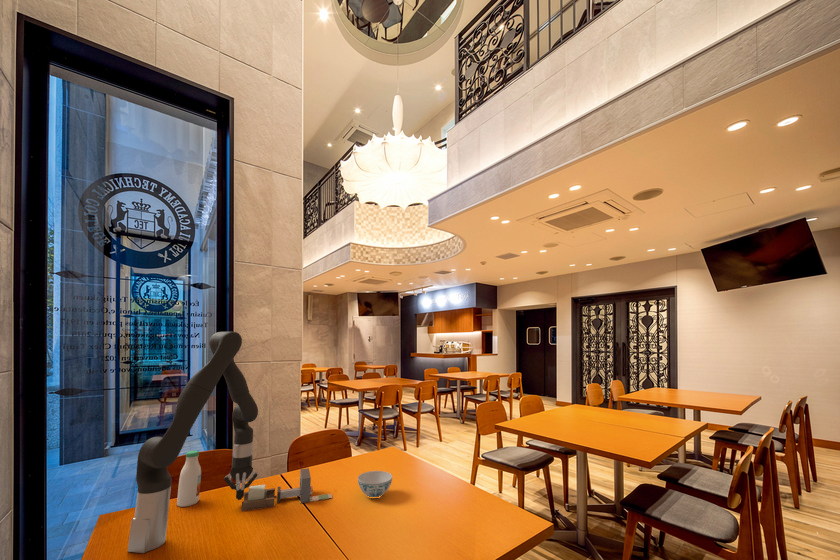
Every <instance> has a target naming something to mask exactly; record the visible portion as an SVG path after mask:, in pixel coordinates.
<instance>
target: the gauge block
mask: <svg viewBox="0 0 840 560" xmlns="http://www.w3.org/2000/svg"><path fill="white" fill-rule="evenodd" d="M265 489H266V490H265ZM267 489H268V488H266V484H259V485H250V486H249V487H248V491H249V492H248V491H247V492H248V501H250V500H257V499H265V498H267Z"/></svg>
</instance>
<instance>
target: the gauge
mask: <svg viewBox="0 0 840 560" xmlns="http://www.w3.org/2000/svg"><path fill="white" fill-rule="evenodd" d="M299 472H300V474H299V488H300V487H301V493H300V496H299V497H300V498H299V501H300V502H301V503H300V502H299V503H300V504H306V502H307V503H312V501H314V502H319V501H318V500H321V501H325V500H324V499H328V500H330V499H329V498H332V499H333V496H332V493H329V494H326V493H325V494H320V495H319V494H318V495H314V496H311V494H310V486H312V484H311V480H312V477H311V473H310V468H309V467H308V468H306V467H305V468H300V471H299ZM266 489H267V498H265V499H257V500H250V501H248V492H249V490H248V491H244V497H243V501H241V511H240V512H247V511H253V510H254V511H255V510H261V509H266V508H274V507H275V499H276V498H275V496H276V488H274V487H273V488H265V490H266Z"/></svg>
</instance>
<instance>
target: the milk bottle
mask: <svg viewBox="0 0 840 560" xmlns="http://www.w3.org/2000/svg"><path fill="white" fill-rule="evenodd" d="M199 454H200V451H199V450H196V449H195V450H189V451H187V452H186V453H185V463H184V465H183V467H182V469H181V471H180V475H179V480H178V487H177V488H178V490H177V500H176V505H177V507H180V508H181V507H182V508H184V507H190V506H194V505H195V504H197V503H199V500H200V491H201V489H200V488H201V480H202V479H201V478H202V467H201V465H200V463H199V459H198V458H199Z"/></svg>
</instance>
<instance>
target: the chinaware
mask: <svg viewBox="0 0 840 560" xmlns="http://www.w3.org/2000/svg"><path fill="white" fill-rule="evenodd" d="M392 480H393V475H392V474H391V472H388V471H383V470H370V471H367V472H363V473H360V474H359V475H358V476H357V484H358V486H359V488H360V490H361V492H362V493H363V494H365V495H366V497H367V496H369V497H379V496H381V495H383V496H384V494H385V493H386V492H387V491H388V490H389V489H390V487H391V485H392Z"/></svg>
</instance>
